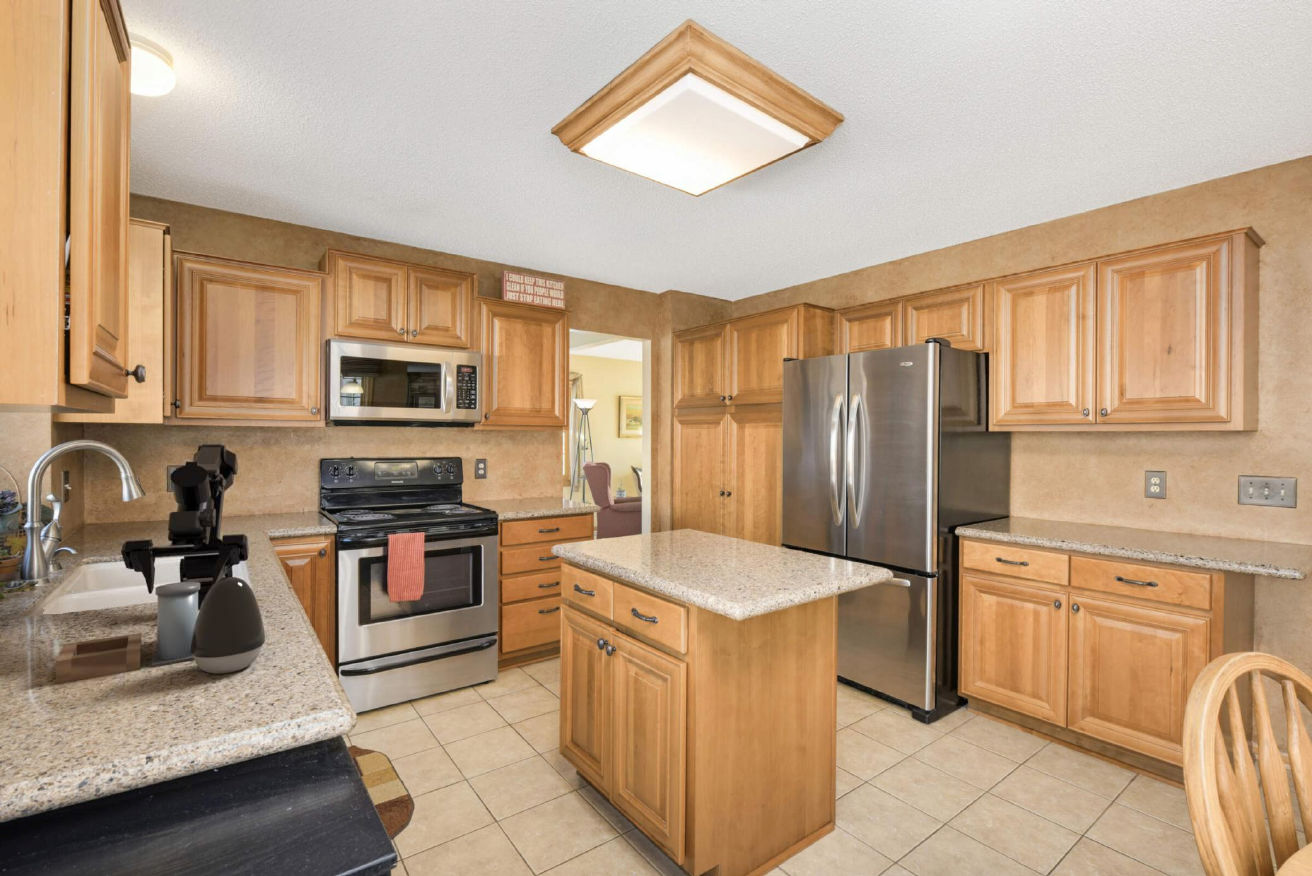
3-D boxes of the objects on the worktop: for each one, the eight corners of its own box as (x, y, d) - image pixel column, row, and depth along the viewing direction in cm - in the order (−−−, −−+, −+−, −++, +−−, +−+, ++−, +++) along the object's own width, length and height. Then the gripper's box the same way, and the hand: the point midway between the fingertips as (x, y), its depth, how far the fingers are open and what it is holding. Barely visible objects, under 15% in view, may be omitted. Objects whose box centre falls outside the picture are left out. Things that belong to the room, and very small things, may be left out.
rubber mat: (151, 655, 108) (151, 653, 108) (201, 647, 113) (201, 645, 113) (151, 667, 103) (151, 664, 103) (203, 658, 107) (203, 655, 107)
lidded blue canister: (149, 656, 107) (149, 586, 107) (191, 646, 112) (191, 580, 112) (162, 663, 104) (163, 592, 104) (205, 652, 109) (206, 584, 109)
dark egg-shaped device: (256, 652, 110) (257, 567, 110) (271, 668, 103) (272, 577, 103) (185, 667, 103) (186, 576, 103) (196, 685, 96) (197, 587, 96)
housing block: (63, 665, 103) (63, 644, 103) (141, 652, 110) (141, 633, 110) (55, 683, 96) (56, 661, 96) (139, 669, 102) (140, 648, 102)
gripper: (124, 496, 111) (105, 569, 102) (247, 492, 120) (241, 559, 111) (135, 533, 118) (118, 605, 109) (251, 527, 127) (245, 593, 118)
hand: (182, 589), depth 111 cm, fingers open, 9 cm apart
